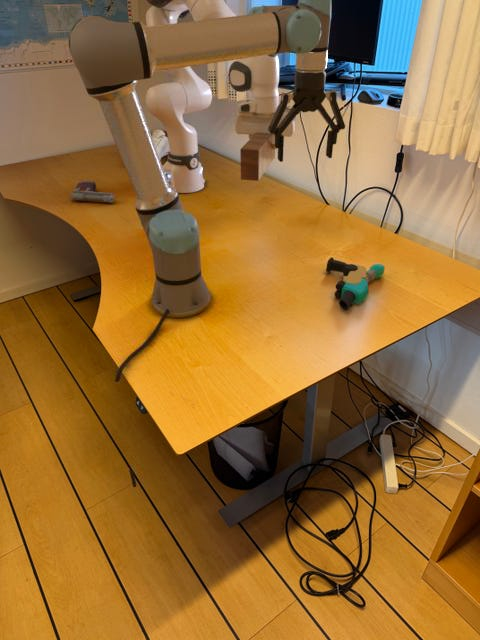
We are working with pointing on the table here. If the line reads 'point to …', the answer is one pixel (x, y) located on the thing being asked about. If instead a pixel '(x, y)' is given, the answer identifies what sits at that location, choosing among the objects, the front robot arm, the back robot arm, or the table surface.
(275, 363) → the table surface
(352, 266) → the toy gun
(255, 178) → the bar
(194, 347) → the table surface
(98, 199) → the toy gun
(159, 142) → the sneaker
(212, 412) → the table surface
